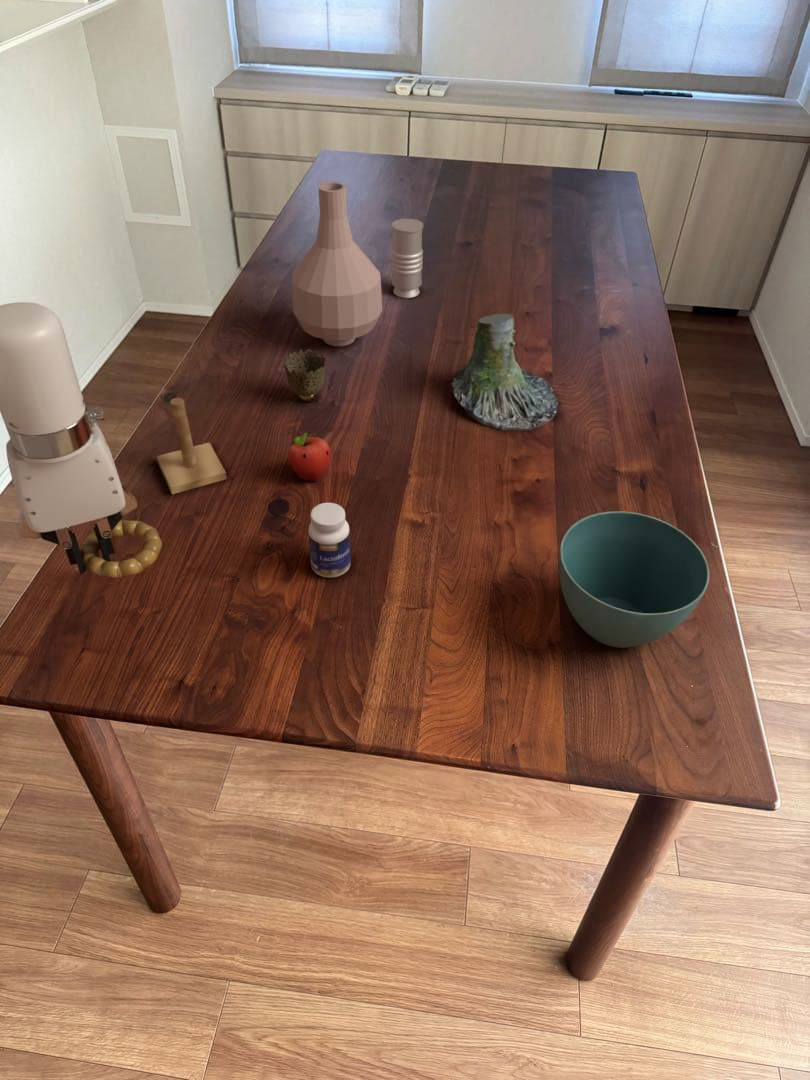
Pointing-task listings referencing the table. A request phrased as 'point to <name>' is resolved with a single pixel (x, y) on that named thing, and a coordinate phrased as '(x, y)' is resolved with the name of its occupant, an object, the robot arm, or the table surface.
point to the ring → (129, 565)
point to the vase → (336, 278)
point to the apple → (309, 457)
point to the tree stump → (502, 381)
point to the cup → (305, 374)
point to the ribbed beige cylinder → (407, 257)
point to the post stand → (189, 458)
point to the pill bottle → (329, 540)
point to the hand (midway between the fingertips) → (93, 560)
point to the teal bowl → (630, 577)
